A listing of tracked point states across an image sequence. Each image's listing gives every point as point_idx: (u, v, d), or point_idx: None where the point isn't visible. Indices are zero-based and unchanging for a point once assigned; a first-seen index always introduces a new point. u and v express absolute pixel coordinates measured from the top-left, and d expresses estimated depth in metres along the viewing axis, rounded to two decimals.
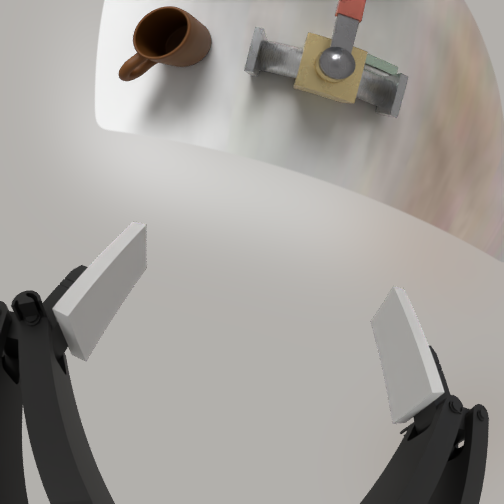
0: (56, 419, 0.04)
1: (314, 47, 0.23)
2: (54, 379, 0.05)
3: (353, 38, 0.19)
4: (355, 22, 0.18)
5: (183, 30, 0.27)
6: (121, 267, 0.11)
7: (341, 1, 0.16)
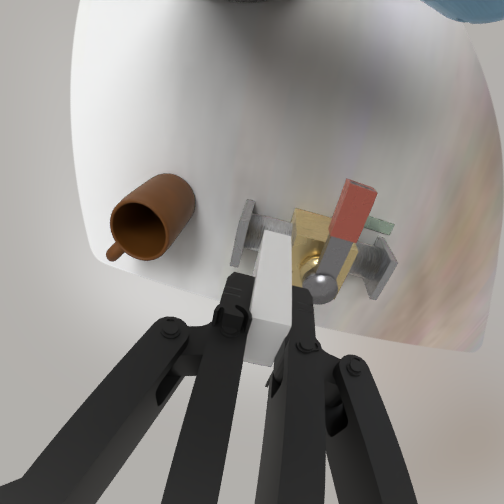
0: (221, 438, 0.05)
1: (301, 251, 0.28)
2: (235, 399, 0.07)
3: (342, 263, 0.24)
4: (349, 244, 0.23)
5: None
6: None
7: (338, 219, 0.22)
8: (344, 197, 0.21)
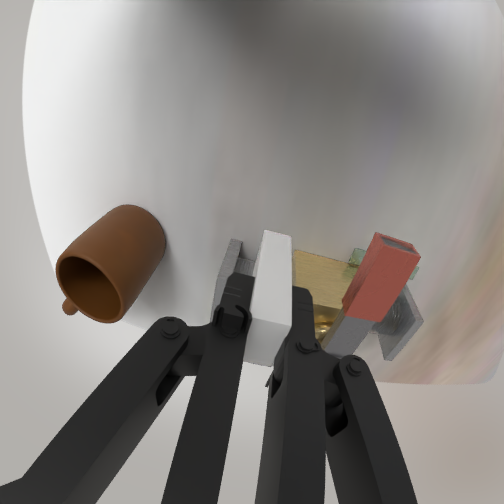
0: (221, 438, 0.05)
1: None
2: (235, 399, 0.07)
3: (357, 344, 0.17)
4: (369, 323, 0.15)
5: None
6: None
7: (359, 295, 0.14)
8: (371, 264, 0.13)
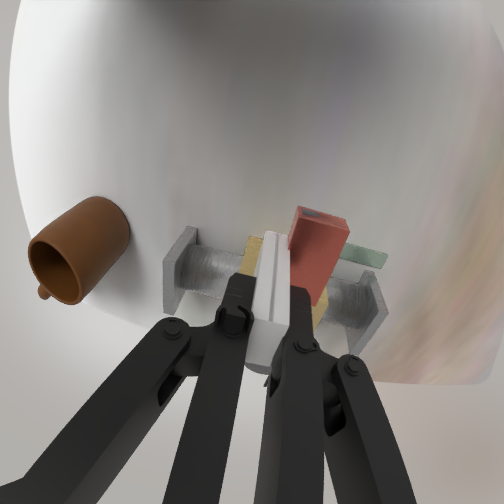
0: (222, 439, 0.05)
1: None
2: (237, 400, 0.07)
3: None
4: None
5: None
6: None
7: None
8: (290, 239, 0.13)
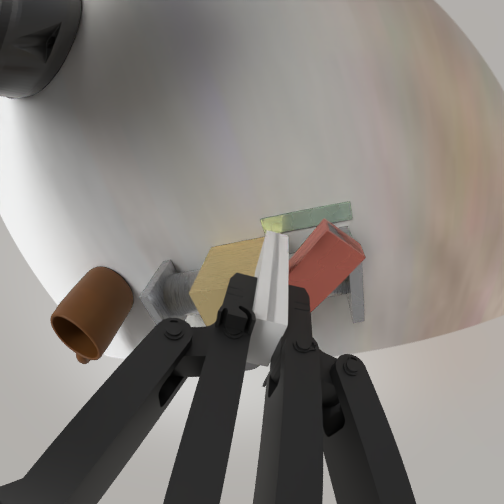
0: (224, 439, 0.05)
1: (210, 308, 0.21)
2: (238, 400, 0.07)
3: None
4: None
5: None
6: None
7: (289, 279, 0.14)
8: (310, 247, 0.13)
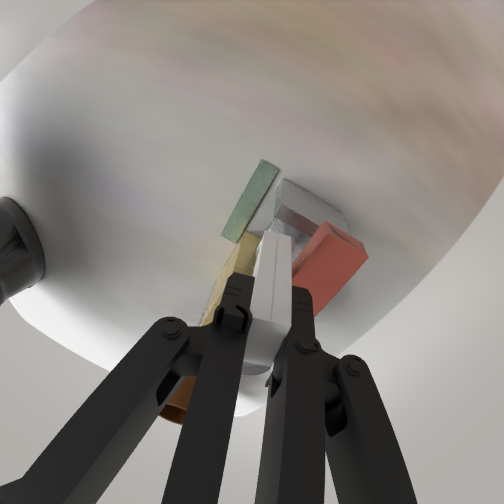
0: (221, 438, 0.05)
1: None
2: None
3: None
4: None
5: None
6: None
7: (292, 282, 0.14)
8: (311, 250, 0.13)
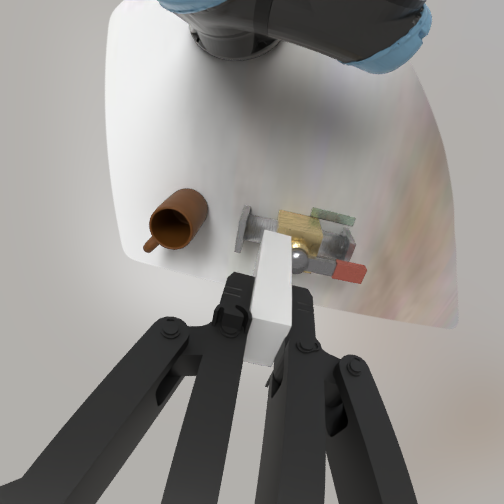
0: (221, 438, 0.05)
1: None
2: (235, 399, 0.07)
3: (316, 272, 0.40)
4: (330, 274, 0.40)
5: None
6: None
7: (347, 267, 0.39)
8: (359, 268, 0.39)
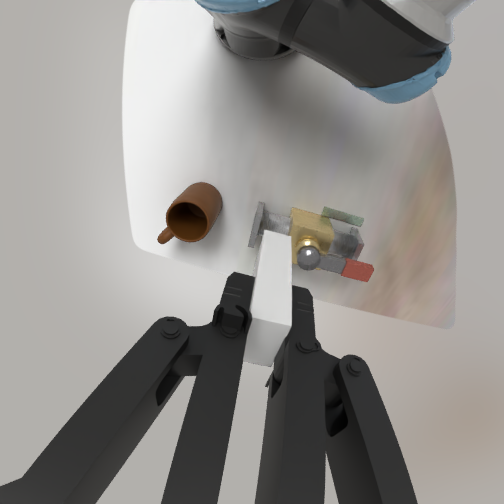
0: (221, 438, 0.05)
1: (296, 235, 0.43)
2: (235, 400, 0.07)
3: (327, 269, 0.42)
4: (339, 271, 0.42)
5: None
6: None
7: (356, 266, 0.40)
8: (367, 267, 0.40)
